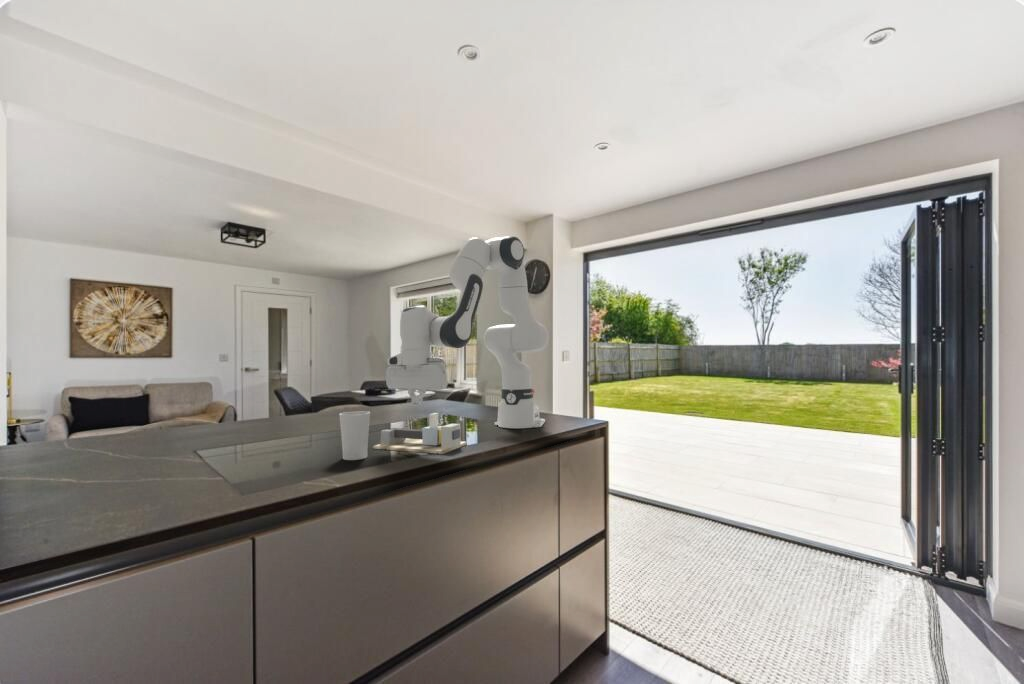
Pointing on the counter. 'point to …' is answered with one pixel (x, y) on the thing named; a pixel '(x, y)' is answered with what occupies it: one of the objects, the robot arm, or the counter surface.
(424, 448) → the board
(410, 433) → the dark grey bar
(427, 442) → the sleeve
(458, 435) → the connector
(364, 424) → the cup
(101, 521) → the counter surface
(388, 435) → the light grey block
